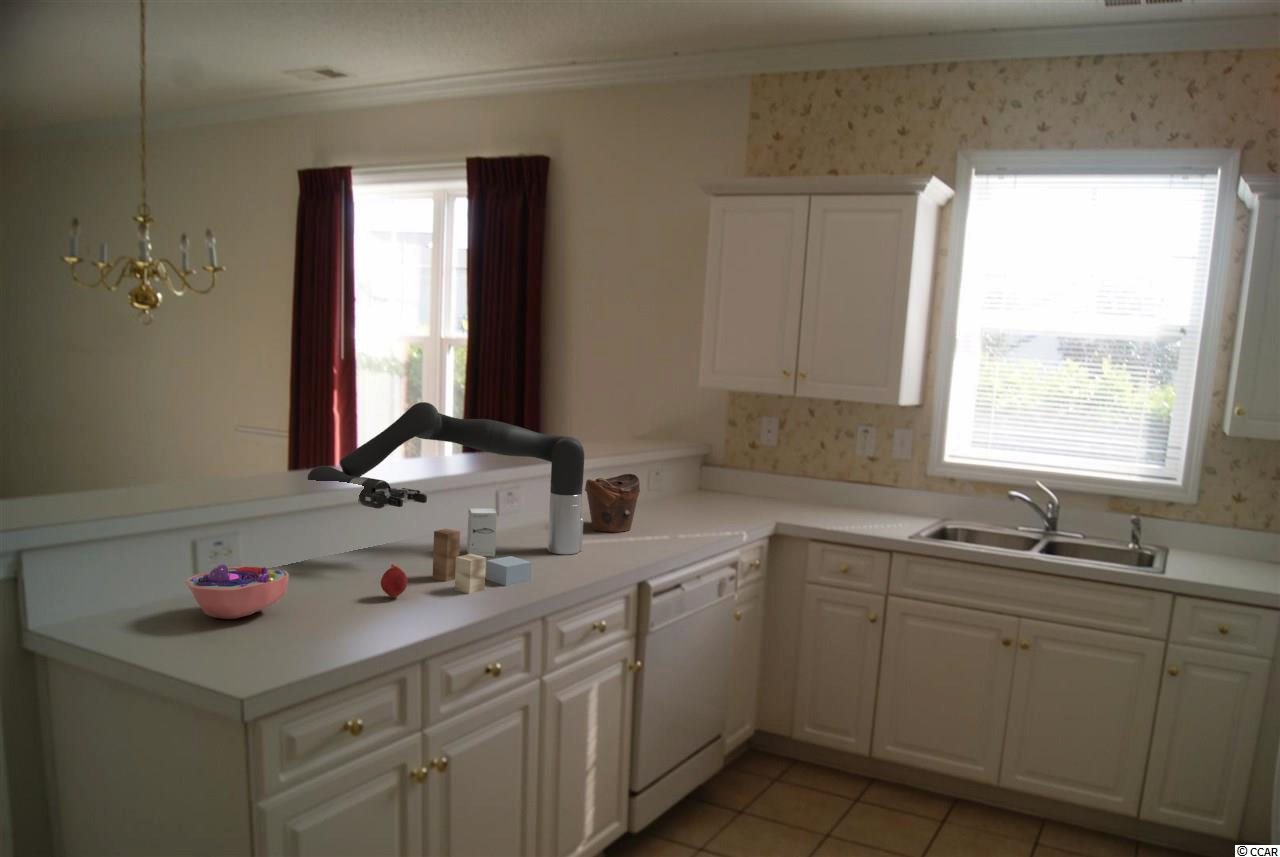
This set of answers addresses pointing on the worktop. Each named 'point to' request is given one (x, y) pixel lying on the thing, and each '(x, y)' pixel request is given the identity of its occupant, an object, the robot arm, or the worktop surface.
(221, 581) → the cell model
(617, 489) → the brown wooden tapered pot
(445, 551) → the walnut block
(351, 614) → the worktop surface
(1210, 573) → the worktop surface
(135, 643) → the worktop surface
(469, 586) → the birch block
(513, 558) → the base block
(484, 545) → the supplement box
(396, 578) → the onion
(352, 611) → the worktop surface
